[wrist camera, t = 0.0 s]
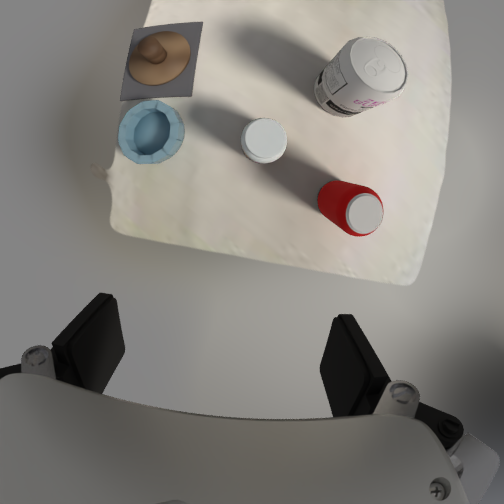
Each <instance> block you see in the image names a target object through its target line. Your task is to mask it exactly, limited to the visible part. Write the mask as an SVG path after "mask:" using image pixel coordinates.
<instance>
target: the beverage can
mask: <svg viewBox="0 0 504 504" xmlns="http://www.w3.org/2000/svg"><path fill="white" fill-rule="evenodd" d="M317 201H318V207H319V209H320V211H321V213H322V214H323V215H324V216H325V217H326V218H328V219H329V220H330V221H332V222H333V223H334V224H336V225H337V226H338V227H340V228H341V229H342V230H343V231H345V232H346V233H348V234H350V235H353V236H366V235H369V234H371V233H372V232H374V231H375V230H376V229H377V228H378V226H379V225H380V223H381V221H382V218H383V205H382V201H381V199H380V197H379V196H378V195H377V193H376V192H374V191H373V190H372V189H370V188H368V187H365V186H361V185H357V184H352V183H348V182H344V181H331V182H329V183H327V184H325V185H324V186H323V187H322V188H321V190H320V192H319V194H318V199H317Z"/></svg>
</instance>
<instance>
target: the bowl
mask: <svg viewBox="0 0 504 504" xmlns="http://www.w3.org/2000/svg"><path fill="white" fill-rule="evenodd" d="M120 125H121V126H119V136H118V141H119V142H118V143H119V145H120V147H121V149H122V152H123V154H124V155H125V156H126V157H127V158H129V159H130V160H132V161H133V162H135V163H137V164H157V163H161V162H163V161H165V160H167V159H169V158H170V157H172V156H173V155H174V154H175V153H176V152H177V151H178V150H179V148H180V146H181V145H182V142H183V139H184V134H185V129H184V123H183V121H182V119H181V117H180V115H179V113H178V112H177V111H176V110H175V109H173V108H172V107H170V106H168V105H166V104H165V103H163V102H161V101H159V100H153V101H143V102H141V103H139V104H137V105H136V106H134V107H133V108H131V109H130V110H129V111H128V112H127V113H126V115H125V117H124V118H123V120H122V122H121V123H120Z"/></svg>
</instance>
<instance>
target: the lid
mask: <svg viewBox="0 0 504 504" xmlns="http://www.w3.org/2000/svg"><path fill="white" fill-rule="evenodd" d="M190 56H191V50H190V46H189V44H188V42H187V40H186V39H185V38H184V37H183V36H182V35H180V34H178V33H176V32H172V31H162V32H157V33H154V34H152V35H150V36H148V37H146V38H144V39H142V40H141V41H140V42H139V44H138V45H137V46H136V47H135V49H134V50H133V52H132V54H131V56H130V60H129V70H130V73H131V75H132V76H133V78H134V79H136V80H137V81H138V82H140V83H142V84H144V85H148V86H158V85H163V84H166V83H168V82H170V81H172V80H174V79H175V78H176V77H178V76H179V75H180V74H181V73H182V72H183V71H184V70H185V68H186V67H187V65H188V63H189V60H190Z"/></svg>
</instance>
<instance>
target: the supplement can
mask: <svg viewBox="0 0 504 504" xmlns="http://www.w3.org/2000/svg"><path fill="white" fill-rule="evenodd" d="M407 77H408V72H407V66H406V64H405V62H404V60H403V58H402V56H401V55H400V53H399V52H398V51H397V50H396V49H395V48H394V47H393V46H392V45H390V44H389V43H387V42H386V41H384V40H381V39H378V38H376V37H364V38H362V37H358V38H355V39H352V40H350V41H348V42H347V43H346V45H345V46H344V47H343V48H342V49H341V50H340V51H339V52H338V53H337V55H336V56H335V57H334V58H333V59H332V60H331V62H330V63H329V64H328V65H327V66H326V68H325V69H324V70H323V71H322V72H321V74H320V75H319V76H318V77H317V78H316V81H315V84H314V93H315V97H316V99H317V101H318V103H319V104H320V105H321V106H322V107H323V109H324V110H325V111H327V112H329V113H330V114H332V115H334V116H339V117H351V116H353V115H356V114H358V113H360V112H363V111H365V110H368V109H370V108H373V107H375V106H378V105H381V104H383V103H386V102H388V101H391V100H393V99H395V98H397V97H399V95H400V94H401V93H402V91H403V90H404V87H405V84H406V83H407Z"/></svg>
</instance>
